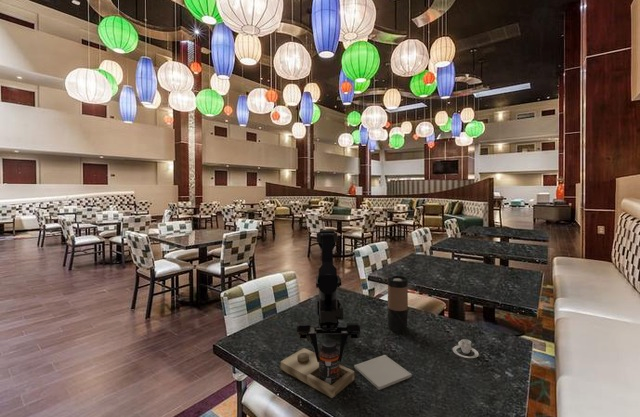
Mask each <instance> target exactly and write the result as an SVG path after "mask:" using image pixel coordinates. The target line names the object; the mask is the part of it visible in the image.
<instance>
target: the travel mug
mask: <svg viewBox="0 0 640 417" xmlns="http://www.w3.org/2000/svg"><path fill="white" fill-rule="evenodd" d="M408 282H409V281H408V278H407V277H406V276H401V275H393V276H392V277H387V324H388V330H389V331H391V332H393V333H398V334H399V333H405V332H406V331H407V330H408V317H409V316H408V315H409V313H408V311H409V310H408V309H409V306H408V305H409V302H408V299H409V298H408V297H409V296H408V294H409V289H408V285H409V283H408Z"/></svg>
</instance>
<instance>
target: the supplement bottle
mask: <svg viewBox="0 0 640 417" xmlns="http://www.w3.org/2000/svg"><path fill="white" fill-rule="evenodd" d="M318 353H319V376H318V378H319V379H320V380H322V381H324V382H326V383H328V384H330V385H332V384H334V383H335V382H336V381H337V380H339V379H340V378H341V376H340V375H339V364H340V360H339V355H340V350H339V349H338V348H337V342H335V340H332V339H331V340H330V339H327V340H326V339H325V340H324V341H322V343H321V348H320V349H319V350H318Z"/></svg>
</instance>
